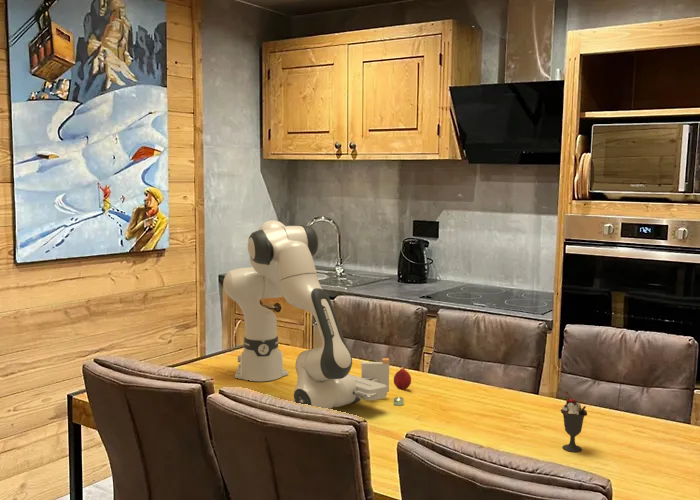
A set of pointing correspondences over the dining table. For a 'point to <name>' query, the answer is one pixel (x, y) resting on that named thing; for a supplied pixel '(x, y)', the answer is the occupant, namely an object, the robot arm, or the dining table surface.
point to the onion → (402, 379)
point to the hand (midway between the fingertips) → (374, 380)
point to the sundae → (573, 422)
